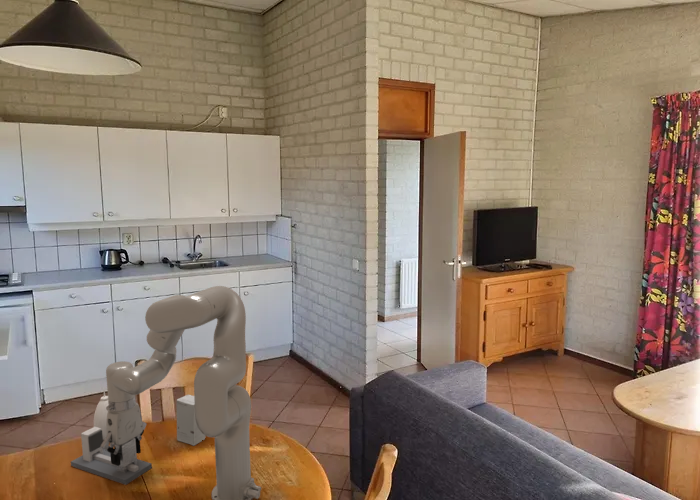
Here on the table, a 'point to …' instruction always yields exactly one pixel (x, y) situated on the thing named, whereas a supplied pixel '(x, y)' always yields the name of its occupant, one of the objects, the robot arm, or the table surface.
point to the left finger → (127, 455)
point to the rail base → (105, 460)
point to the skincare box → (187, 421)
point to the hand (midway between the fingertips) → (126, 457)
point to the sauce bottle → (101, 415)
